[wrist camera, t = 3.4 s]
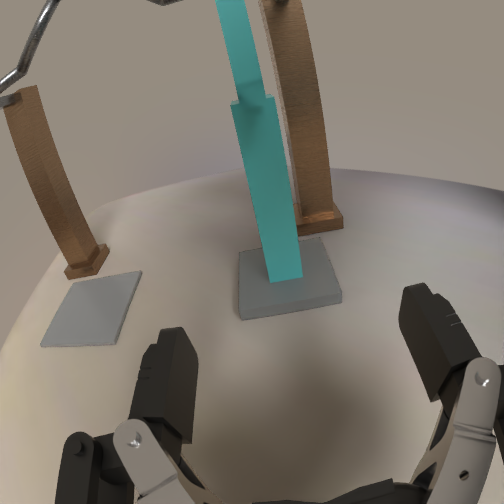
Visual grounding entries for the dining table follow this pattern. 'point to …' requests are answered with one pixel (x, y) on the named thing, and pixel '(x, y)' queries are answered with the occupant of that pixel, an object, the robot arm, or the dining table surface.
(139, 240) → the dining table surface
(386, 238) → the dining table surface
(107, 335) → the slate pad
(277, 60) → the bent wire rig
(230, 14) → the turquoise post on base
